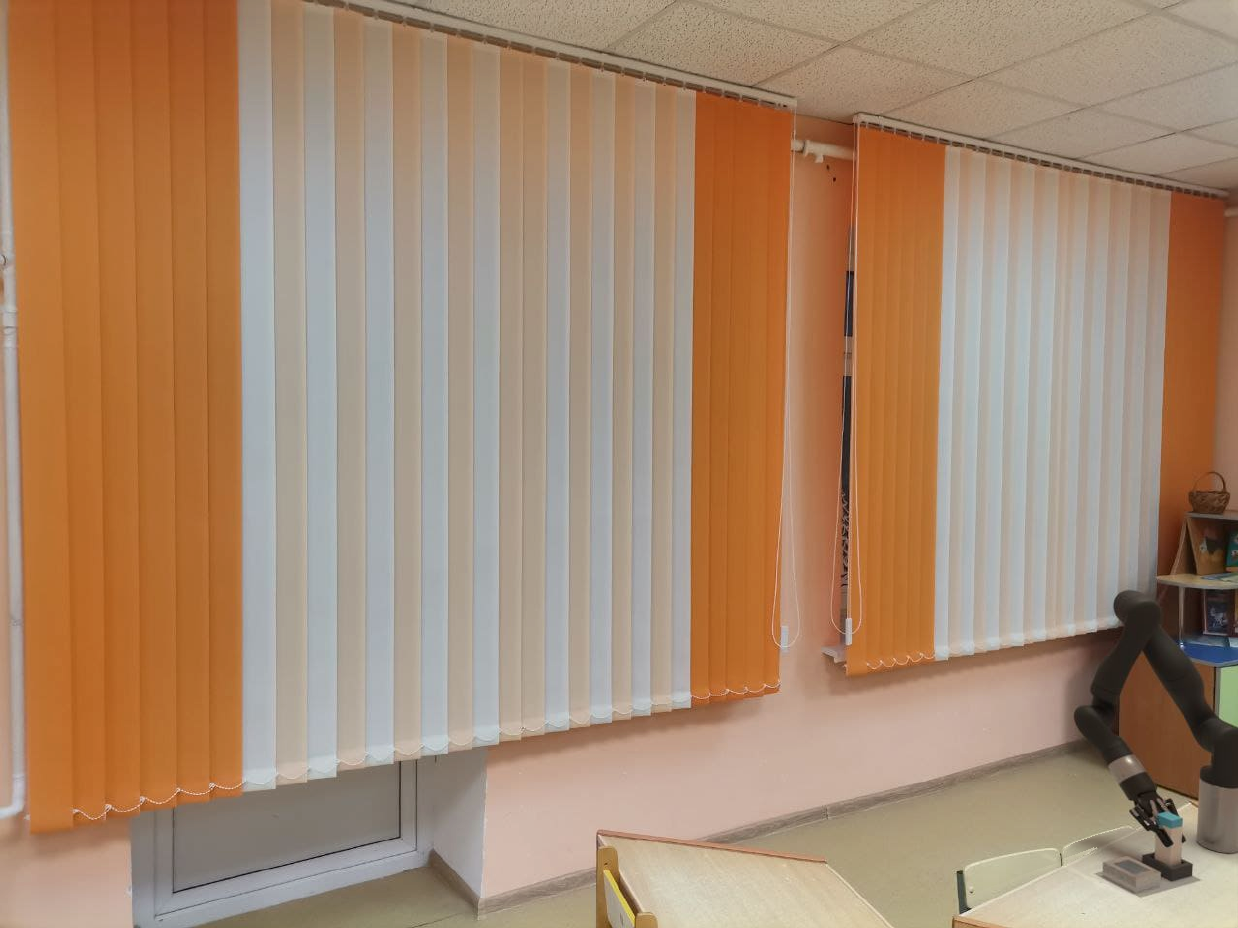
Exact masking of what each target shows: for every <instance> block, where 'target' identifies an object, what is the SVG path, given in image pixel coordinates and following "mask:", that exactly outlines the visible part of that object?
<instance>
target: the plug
mask: <svg viewBox="0 0 1238 928" xmlns="http://www.w3.org/2000/svg"><path fill="white" fill-rule="evenodd" d="M1157 815H1158V817H1159V821H1160V823H1161V824H1162V826H1163V829H1165V831H1166V832H1167V834H1168V835H1169V837H1170V838H1171V840H1172V841H1173V843H1174V844H1173V845H1172V846H1170V847H1165V846H1164V845H1163V844H1162V842H1161V841H1160V839H1159V837H1158V836H1157V834H1156V833H1155V835H1154V837H1155V838H1154V839H1155V840H1154V841H1155V842H1154V852H1155V860H1158V861H1160V862H1162V863H1164V864H1166V865H1168V866H1170V867H1172V866H1176V865H1179V864H1181V859H1182V853H1183V852H1182V849H1183V848H1182V846H1183V843H1182V833H1183V824H1184V823H1183V822H1184V820H1183V819H1184V818H1183V817H1180V815H1179V816H1176V815H1174V814H1172V813H1169V812H1163V813H1159V814H1157Z"/></svg>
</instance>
